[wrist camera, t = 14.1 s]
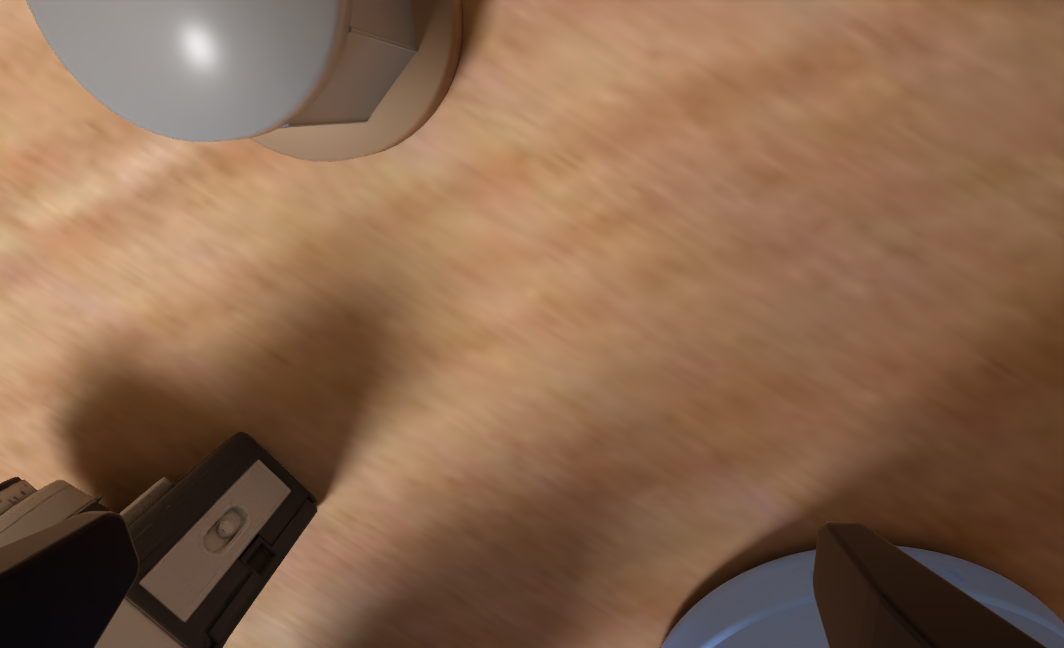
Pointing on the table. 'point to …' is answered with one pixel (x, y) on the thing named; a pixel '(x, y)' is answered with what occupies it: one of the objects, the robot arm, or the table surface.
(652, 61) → the table surface
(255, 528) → the camera
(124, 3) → the cap
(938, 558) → the water jug
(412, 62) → the stub
